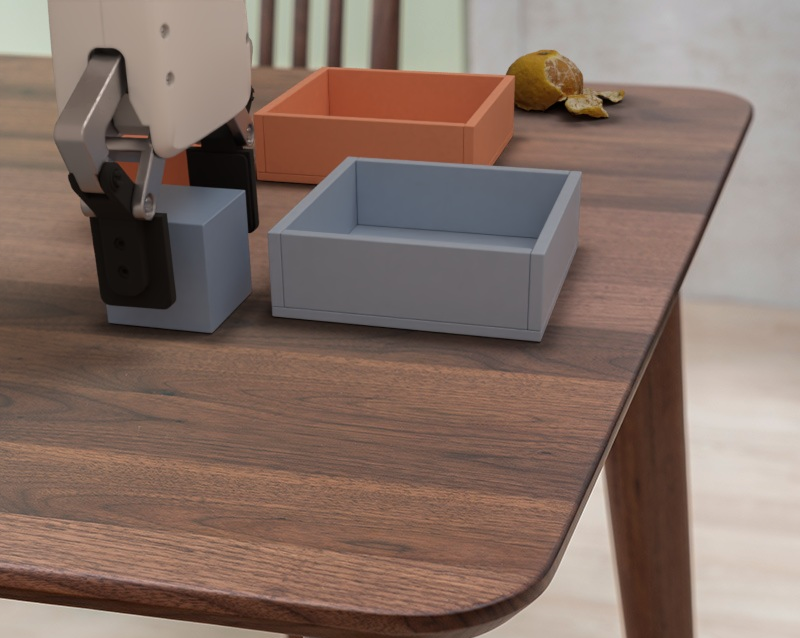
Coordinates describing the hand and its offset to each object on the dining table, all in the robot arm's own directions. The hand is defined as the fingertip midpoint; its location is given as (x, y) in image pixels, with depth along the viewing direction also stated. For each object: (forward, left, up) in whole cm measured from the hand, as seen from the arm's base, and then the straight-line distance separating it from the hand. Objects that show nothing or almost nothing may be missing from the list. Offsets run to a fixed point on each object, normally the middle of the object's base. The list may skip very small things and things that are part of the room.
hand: (186, 264), depth 57 cm
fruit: (+12, +41, -2) cm, 43 cm away
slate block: (0, 0, -2) cm, 2 cm away
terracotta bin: (+3, +26, -2) cm, 26 cm away
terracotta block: (-5, +11, -2) cm, 13 cm away
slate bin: (+10, +6, -2) cm, 12 cm away
